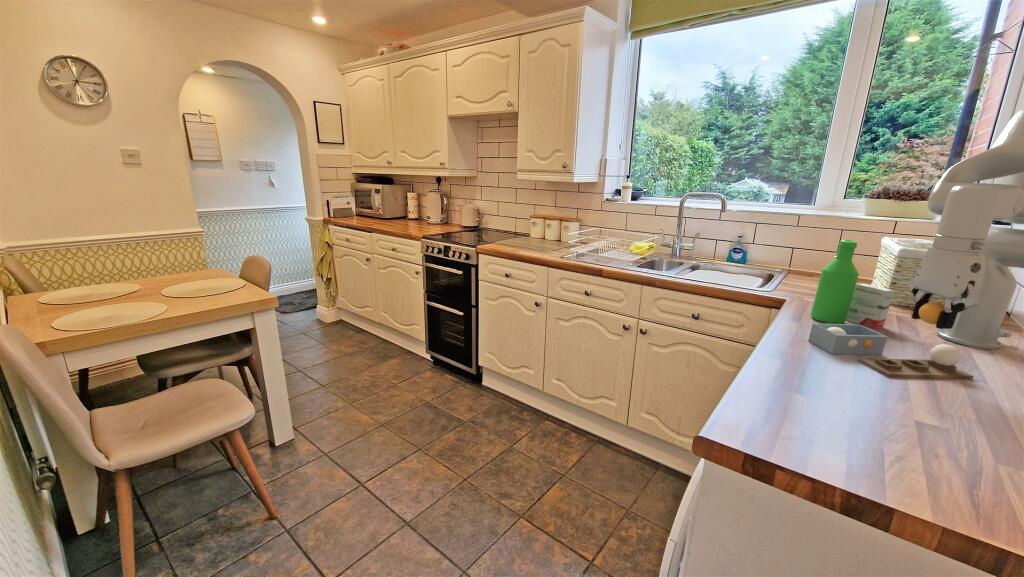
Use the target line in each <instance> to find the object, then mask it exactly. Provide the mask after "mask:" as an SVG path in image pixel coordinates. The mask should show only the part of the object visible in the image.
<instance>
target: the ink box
mask: <svg viewBox="0 0 1024 577" xmlns="http://www.w3.org/2000/svg"><path fill="white" fill-rule="evenodd" d="M893 294H894V290H890V289H885V288H881V287H876V286H872V285H871V284H867V283H856V286H855V289H854V293H853V297H852V300H851V304H850V307H849V311H848V314H847V317H846V321H847V322H851V323H854V324H856V325H862V326H864V327H867V328H869V329H871V328H872V329H875V330H876V329H880V328H883V327H884V325H885V322H886V318H887V317H888V313H889V310H890V308H891V307H890V306H891V305H892V304H891V301H892V298H893Z"/></svg>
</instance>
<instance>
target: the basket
mask: <svg viewBox="0 0 1024 577" xmlns="http://www.w3.org/2000/svg"><path fill="white" fill-rule="evenodd" d="M933 241H934V240H929V239H923V238H922V239H921V238H907V237H906V238H904V237H903V238H902V237H901V238H900V237H890V236H885V237H883V238H881V241H880V245H881V247H880V250H879V254H878V258H877V263H876V265H875V271H874V276H873V278H872V281H871V284H870V285H872V286H876V287H881V288H885V289H890V290H894V294H893V298H892V301H891V304H890V305H891V306H892V305H893V306H902V307H910V308H914V307H915V304H916V302H915V301H914V295H913V293H912V290H911V289H910V287H909V286H908V282H909V281H911V280H912V279H913V278H915V277H916V274H917V271H918V268H919V266H920V264H921V261H922V259H923V257H924V255H925V254H926V252H927V250H928V249H929V247H932V244H933ZM925 294H926V293H925ZM929 302H938V303H941V304H944V305H945V297H941V296H938V295H935V294H934V295H933V297H932V298H931V300H930V301H929ZM953 305H955V301H953Z"/></svg>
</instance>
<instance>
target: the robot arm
mask: <svg viewBox="0 0 1024 577" xmlns="http://www.w3.org/2000/svg"><path fill="white" fill-rule="evenodd" d="M1004 177H1006V179H1005V181H1004V183H1002V184H1001V183H987V182H986V183H985V182H982V181H987V180H993V179H994V180H995V179H998V178H1004ZM927 208H928V210H929V211H930V212H931V213H932V214H934V215H936V216H937V215H938V216H940V219H939V220H940V221H939V223H938V226H937V230H936V233H935V235H934V238H933V240H932V241H933V244H932V247H929V249H926V250H927V252H926V254H925V255H924V257H923V259H922V261H921V264H920V266H919V268H918V271H917V274H916V277H915V278H913V279H912V280H911V281H909V282H908V286H909V287H910V289H911V290H912V293H913V295H914V301H915V302H916V304H915V307H913V310H912V314H911V319H913V320H922V319H921V318H920V316H919V309H920V308H921V306H923V305H924V304H926V303H930V302H929V301H930V300H931V298H932V297H933V295H934V294H935V295H938V296H941V297H945V311H941V312H940V315H939V318H938V321H937V324H935V328H936V329H937V331H936V335H937V336H938V337H941V338H942V339H944V340H947V341H950V342H953V343H956V344H960V345H963V346H968V347H972V348H978V349H984V350H1000V349H1002V346H1003V343H1002V342H1000V341H999V340H998V339H999V338H1010V337H1012V331H1011V330H1005V329H1001V327H1002V324H1003V321H1004V318H1005V316H1006V313H1007V311H1008V308H1009V307H1010V303H1011V301H1012V298H1013V296H1014V293H1015V292H1016V289H1017V280H1016V277H1015V275H1014V274H1013V273H1012V271H1011V270H1010V269H1009V268H1018V269H1019V268H1020V269H1024V229H1018V228H1008V227H992V228H991V226H992V224H993V221H1000V222H1002V223H1009V224H1017V225H1024V108H1022V109H1020V110H1019V111H1018V112H1017V113H1016V114H1014V115H1013V116H1012V118H1011V119H1010V120H1009V121H1008V122H1007V124H1006V126H1005V127H1004V128H1003V130H1002V131H1001V133H1000V134H999V136H998V137H997V139H996V140H995V142H994V143H993V144H992V146H991V148H989V149H987V150H984V151H981V152H978V153H976V154H974V155H972V156H969V157H966V158H965V159H963V160H961V161H959V162H958V163H955V164H954V165H952V166H951V167H949V168H948V169H947V170H946V171H945V172H944V173H943V175H942V176H941V177H940V179H939V180H938V182H937V183H936V184H935V186H934V187H933V189H932V191H931V193H930V195H929V196H928V200H927ZM925 293H926V294H925ZM953 301H955V305H953Z"/></svg>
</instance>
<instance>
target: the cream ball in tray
mask: <svg viewBox="0 0 1024 577" xmlns="http://www.w3.org/2000/svg"><path fill="white" fill-rule="evenodd" d="M827 330H829V331H831V332H833V333H835V334H837V335H847V334H846V332H845V331H844V330H843V329H841V328H838V327H830V328H828V329H827Z"/></svg>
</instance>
